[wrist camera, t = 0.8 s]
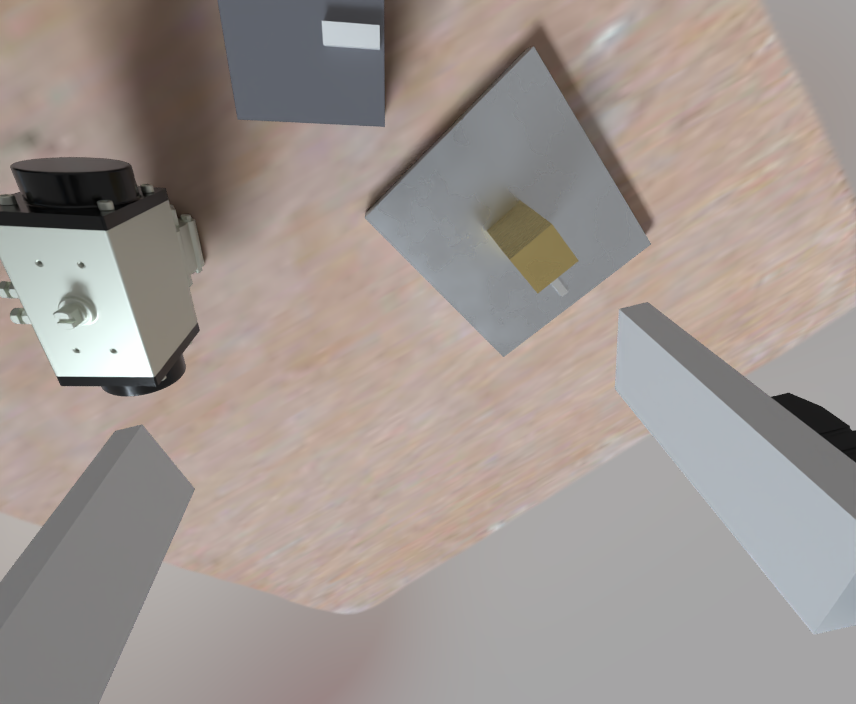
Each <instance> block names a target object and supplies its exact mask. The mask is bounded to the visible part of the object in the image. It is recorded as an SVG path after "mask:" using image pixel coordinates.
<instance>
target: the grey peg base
mask: <svg viewBox="0 0 856 704" xmlns="http://www.w3.org/2000/svg"><path fill="white" fill-rule="evenodd" d="M365 219H366V220H367V221H368V222H369V223H370V224H371V225H372V226H373V227H374V228H375V229H376V230H377V231H378V232H379V233H380V234H381V235H382V236H383V237H384V238H385V239H386V240H387V241H388V242H389V243H390V244H391V245H392V246H393V247H394V248H395V249H396V250H397V251H398V252H399V253H400V254H401V255H402V256H403V257H404V258H405V259H406V260H407V261H408V262H409V263H410V264H411V265H412V266H413V267H414V268H415V269H416V270H417V271H418V272H419V273H420V274H421V275H422V276H423V277H424V278H425V279H426V280H427V281H428V282H429V283H430V284H431V285H432V286H433V287H434V288H435V289H436V290H437V291H438V292H439V293H440V294H441V295H442V296H443V297H444V298H445V299H446V300H447V301H448V302H449V303H450V304H451V305H452V306H453V307H454V308H455V309H456V310H457V311H458V312H459V313H460V314H461V315H462V316H463V317H464V318H465V319H466V320H467V321H468V322H469V323H470V324H471V325H472V326H473V327H474V328H475V329H476V330H477V331H478V332H479V333H480V334H481V335H482V336H483V337H484V338H485V339H486V340H487V341H488V342H489V343H490V344H491V345H492V346H493V347H494V348H495V349H496V350H497V351H498V352H499V353H500V354H501V355H502V356H503V357H504V356H506V355H507V354H508V353H509V352H511V351H512V350H513V349H515V348H516V347H517V346H519V345H520V344H521V343H523V342H524V341H525V340H526V339H528V338H529V337H530V336H532V335H533V334H534V333H536V332H537V331H538V330H540V329H541V328H542V327H543V326H545V325H546V324H547V323H549V322H550V321H551V320H553V319H554V318H555V317H557V316H558V315H559V314H560V313H562V312H563V311H564V310H566V309H567V308H568V307H570V306H571V305H572V304H574V303H575V302H576V301H577V300H579V299H580V298H581V297H583V296H584V295H585V294H587V293H588V292H589V291H591V290H592V289H593V288H594V287H596V286H597V285H598V284H600V283H601V282H602V281H604V280H605V279H606V278H608V277H609V276H610V275H611V274H613V273H614V272H615V271H617V270H618V269H619V268H621V267H622V266H623V265H625V264H626V263H627V262H628V261H630V260H631V259H632V258H634V257H635V256H636V255H638V254H639V253H640V252H642V251H643V250H644V249H645V248H647V247H648V246H649V245H651V243H650V241H649V240H648V238H647V236H646V235H645V233H644V231H643V230H642V228H641V226H640V225H639V223H638V221H637V220H636V218H635V216H634V214H633V213H632V211H631V209H630V208H629V206H628V204H627V203H626V201H625V199H624V198H623V196H622V194H621V193H620V191H619V189H618V187H617V186H616V184H615V182H614V181H613V179H612V177H611V176H610V174H609V172H608V171H607V169H606V167H605V166H604V164H603V162H602V161H601V159H600V157H599V155H598V154H597V152H596V150H595V149H594V147H593V145H592V144H591V142H590V140H589V139H588V137H587V135H586V134H585V132H584V130H583V128H582V127H581V125H580V123H579V122H578V120H577V118H576V117H575V115H574V113H573V112H572V110H571V108H570V107H569V105H568V103H567V101H566V100H565V98H564V96H563V95H562V93H561V91H560V90H559V88H558V86H557V85H556V83H555V81H554V80H553V78H552V76H551V75H550V73H549V71H548V69H547V68H546V66H545V64H544V63H543V61H542V59H541V58H540V56H539V54H538V53H537V51H536V49H535V48H534V46H533V47H530V48H527V49H526V50H525V51H524V52H523V53H522V54H521V55H520V56H519V57H518V58H517V59H516V60H515V61H514V62H513V63H512V64H511V65H510V66H509V67H508V68H507V69H506V70H505V71H504V73H503V74H502V75H501V76H500V77H499V78H498V79H497V80H496V81H495V82H494V83H493V84H492V85H491V86H490V87H489V88H488V89H487V90H486V91H485V92H484V93H483V94H482V95H481V96H480V97H479V98H478V99H477V100H476V101H475V102H474V103H473V104H472V105H471V106H470V107H469V108H468V109H467V110H466V111H465V112H464V113H463V114H462V115H461V116H460V117H459V118H458V119H457V120H456V121H455V122H454V124H453V125H452V126H451V127H450V128H449V129H448V130H447V131H446V132H445V133H444V134H443V135H442V136H441V137H440V138H439V139H438V140H437V141H436V142H435V143H434V144H433V145H432V146H431V147H430V148H429V149H428V150H427V151H426V152H425V153H424V154H423V155H422V156H421V157H420V158H419V159H418V160H417V161H416V162H415V163H414V164H413V165H412V166H411V167H410V168H409V169H408V170H407V171H406V172H405V173H404V174H403V176H402V177H401V178H400V179H399V180H398V181H397V182H396V183H395V184H394V185H393V186H392V187H391V188H390V189H389V190H388V191H387V192H386V193H385V194H384V195H383V196H382V197H381V198H380V199H379V200H378V201H377V202H376V203H375V204H374V205H373V206H372V207H371V208H370V209H369V210H368V211H367V212H366V213H365Z"/></svg>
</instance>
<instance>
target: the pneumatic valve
mask: <svg viewBox="0 0 856 704" xmlns="http://www.w3.org/2000/svg"><path fill="white" fill-rule="evenodd" d="M10 168H11V170H12V173H13V175H14V178H15V180H16V183H17V185H18V187H19V190H20V192H18V193H15V194H3V195H0V259H1V261H2V263H3V266H4V268H5V270H6V272H7V274H8V276H9V278H10V280H11V282H6V281H2V282H0V296H1V297H2V298H19V299H20V301H21V303H22V305H23V307H24V308H14V309H13V310H12V311H11V313H10V318H11V320H12V321H13V322H14V323H15V324H32V326H33V328H34V330H35V333H36V335H37V337H38V339H39V341H40V343H41V345H42V347H43V349H44V351H45V353H46V356H47V358H48V360H49V362H50V364H51V366H52V368H53V370H54V372H55V374H56V377H57V379H58V381H59V383H60V385H61V386H101V387H102V389H103V390H104V391H106V392H107V393H110V394H113V395H117V396H139V395H144V394H149V393H153V392H156V391H159V390H161V389H164V388H166V387H168V386H170V385H171V384H173V383H175V382H176V381H177V380H179V379H180V378H181V377H182V375H183V374H184V372H185V369H186V364H185V361H184V357H183V352H184V351H185V349H186V348H187V347H188V345H190V344H192V340H193V339H194V337H195V336H196V335H197V333H198V332H199V331H200V330H199V326H198V322H197V317H196V313H195V309H194V305H193V301H192V296H191V292H190V288H189V287H190V286H191V285H192V284H193V283H192V279H191V274H193V273H194V272H196V273H200V272H201V271H202V267H203V266H204V265H205V264H204V260H203V255H202V250H201V246H200V241H199V236H198V231H197V227H196V222H195V219H192V218H191V215H190V214H182V215H180V216H181V218H180V219H177V214H176V210H175V208H174V206H173V205H171V204H169V200H168V196H167V191H166V188H157V187H153V185H151V184H141V185H140V186H137V184H136V181H135V177H134V173H133V170H132V166H131V165H130V164H129V163H127V162H124V161H120V160H113V159H104V158H85V157H59V158H41V159H31V160H24V161H19V162H16V163H13V164H12V165H11V166H10Z"/></svg>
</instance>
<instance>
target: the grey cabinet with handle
mask: <svg viewBox="0 0 856 704" xmlns="http://www.w3.org/2000/svg"><path fill="white" fill-rule="evenodd" d="M218 5H219V11H220V17H221V23H222V29H223V35H224V41H225V47H226V53H227V59H228V65H229V71H230V77H231V82H232V88H233V94H234V100H235V106H236V112H237V118H238V119H240V120H260V121H280V122H300V123H320V124H340V125H360V126H380V127H385V87H384V0H218Z"/></svg>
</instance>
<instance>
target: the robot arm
mask: <svg viewBox="0 0 856 704" xmlns="http://www.w3.org/2000/svg"><path fill="white" fill-rule="evenodd" d="M615 390H616V391H617V392H618V393H619V395H620V396H621V397H622V398H623V400H624V401H625V402H626V403H627V404H628V406H629V407H630V408H631V409H632V411H633V412H634V413H635V414H636V416H637V417H638V418H639V419H640V421H641V422H642V423H643V424H644V425H645V427H646V428H647V429H648V430H649V432H650V433H651V434H652V435H653V437H654V438H655V439H656V440H657V442H658V443H659V444H660V445H661V446H662V447H663V449H664V450H665V451H666V452H667V454H668V455H669V456H670V457H671V459H672V460H673V461H674V463H675V464H676V465H677V466H678V467H679V469H680V470H681V471H682V472H683V474H684V475H685V476H686V477H687V479H688V480H689V481H690V482H691V484H692V485H693V486H694V487H695V488H696V490H697V491H698V492H699V493H700V495H701V496H702V497H703V498H704V500H705V501H706V502H707V503H708V504H709V506H710V507H711V508H712V509H713V511H714V512H715V513H716V514H717V516H718V517H719V518H720V519H721V521H722V522H723V523H724V524H725V525H726V527H727V528H728V529H729V530H730V532H731V533H732V534H733V535H734V537H735V538H736V539H737V540H738V542H739V543H740V544H741V545H742V547H743V548H744V549H745V550H746V552H747V553H748V554H749V555H750V556H751V558H752V559H753V560H754V561H755V563H756V564H757V565H758V566H759V568H760V569H761V570H762V571H763V573H764V574H765V575H766V576H767V577H768V579H769V580H770V581H771V582H772V584H773V585H774V586H775V587H776V589H777V590H778V591H779V592H780V594H781V595H782V596H783V597H784V598H785V600H786V601H787V602H788V603H789V605H790V606H791V607H792V608H793V610H794V611H795V612H796V613H797V615H798V616H799V617H800V618H801V620H802V621H803V622H804V623H805V624H806V626H807V627H808V628H809V629H810V631H811V632H812V633H813V634H818V633H823V632H827V631H832V630H836V629H841V628H845V627H850V626H854V625H856V431H852V430H851V429H850V426H849V425H847V424H846V423H844V422H843V421H841V420H840V419H839V418H837V417H836V416H834V415H833V414H832V413H830V412H829V411H827V410H826V409H825V408H823V407H821V406H819V405H817V404H814V403H812V402H809V401H807V400H805V399H802V398H800V397H797V396H795V395H793V394H790V393H786V394H782V395H778V396H773V397H770V396H768V395H767V394H766V393H764V392H763V391H762V390H761V389H760V388H758V387H757V386H756V385H754V384H753V383H752V382H750V381H749V380H748V379H747V378H745V377H744V376H743V375H741V374H740V373H739V372H738V371H736V370H735V369H734V368H732V367H731V366H730V365H728V364H727V363H726V362H725V361H723V360H722V359H721V358H719V357H718V356H717V355H715V354H714V353H713V352H712V351H710V350H709V349H708V348H706V347H705V346H704V345H703V344H701V343H700V342H699V341H697V340H696V339H695V338H693V337H692V336H691V335H690V334H688V333H687V332H686V331H684V330H683V329H682V328H680V327H679V326H678V325H677V324H675V323H674V322H673V321H671V320H670V319H669V318H668V317H666V316H665V315H664V314H662V313H661V312H660V311H658V310H657V309H656V308H655V307H653V306H652V305H651V304H649V303H648V302H646V303H642V304H638V305H634V306H630V307H625V308H621V309H619V320H618V340H617V359H616V379H615ZM194 490H195V488H194V487H193V486H192V485H191V483H190V482H189V481H188V480H187V479H186V477H185V476H184V475H183V474H182V472H181V471H180V470H179V469H178V468H177V466H176V465H175V464H174V463H173V462H172V460H171V459H170V458H169V457H168V455H167V454H166V453H165V452H164V451H163V449H162V448H161V447H160V446H159V444H158V443H157V442H156V441H155V440H154V438H153V437H152V436H151V435H150V433H149V432H148V431H147V430H146V429H145V427H144V426H143V425H138V426H134V427H130V428H126V429H122V430H117V431H115V432H114V433H113V434H112V436H111V437H110V438H109V440H108V441H107V442H106V444H105V445H104V446H103V448H102V449H101V450H100V452H99V453H98V454H97V456H96V457H95V458H94V459H93V461H92V462H91V463H90V465H89V466H88V467H87V469H86V470H85V471H84V473H83V474H82V475H81V477H80V478H79V479H78V481H77V482H76V483H75V485H74V486H73V487H72V488H71V490H70V491H69V492H68V494H67V495H66V496H65V498H64V499H63V500H62V502H61V503H60V504H59V506H58V507H57V508H56V510H55V511H54V512H53V513H52V515H51V516H50V517H49V519H48V520H47V521H46V523H45V524H44V525H43V527H42V528H41V529H40V531H39V532H38V533H37V535H36V536H35V537H34V539H33V540H32V541H31V542H30V544H29V545H28V547H27V548H26V549H25V550H24V552H23V553H22V554H21V556H20V557H19V558H18V560H17V561H16V562H15V564H14V565H13V566H12V568H11V569H10V570H9V571H8V573H7V574H6V575H5V577H4V578H3V579H2V581H1V582H0V704H99V702H100V700H101V697H102V695H103V693H104V691H105V688H106V686H107V684H108V682H109V680H110V677H111V675H112V673H113V671H114V668H115V666H116V664H117V661H118V659H119V657H120V655H121V653H122V651H123V648H124V646H125V644H126V642H127V639H128V637H129V635H130V633H131V630H132V628H133V626H134V624H135V622H136V619H137V617H138V615H139V613H140V610H141V608H142V606H143V604H144V601H145V599H146V597H147V594H148V593H149V590H150V588H151V586H152V584H153V581H154V579H155V577H156V575H157V572H158V570H159V568H160V566H161V564H162V561H163V559H164V557H165V555H166V552H167V550H168V548H169V546H170V543H171V541H172V539H173V537H174V535H175V532H176V530H177V528H178V526H179V523H180V521H181V519H182V517H183V514H184V512H185V510H186V508H187V506H188V503H189V501H190V499H191V497H192V494H193V492H194Z"/></svg>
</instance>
